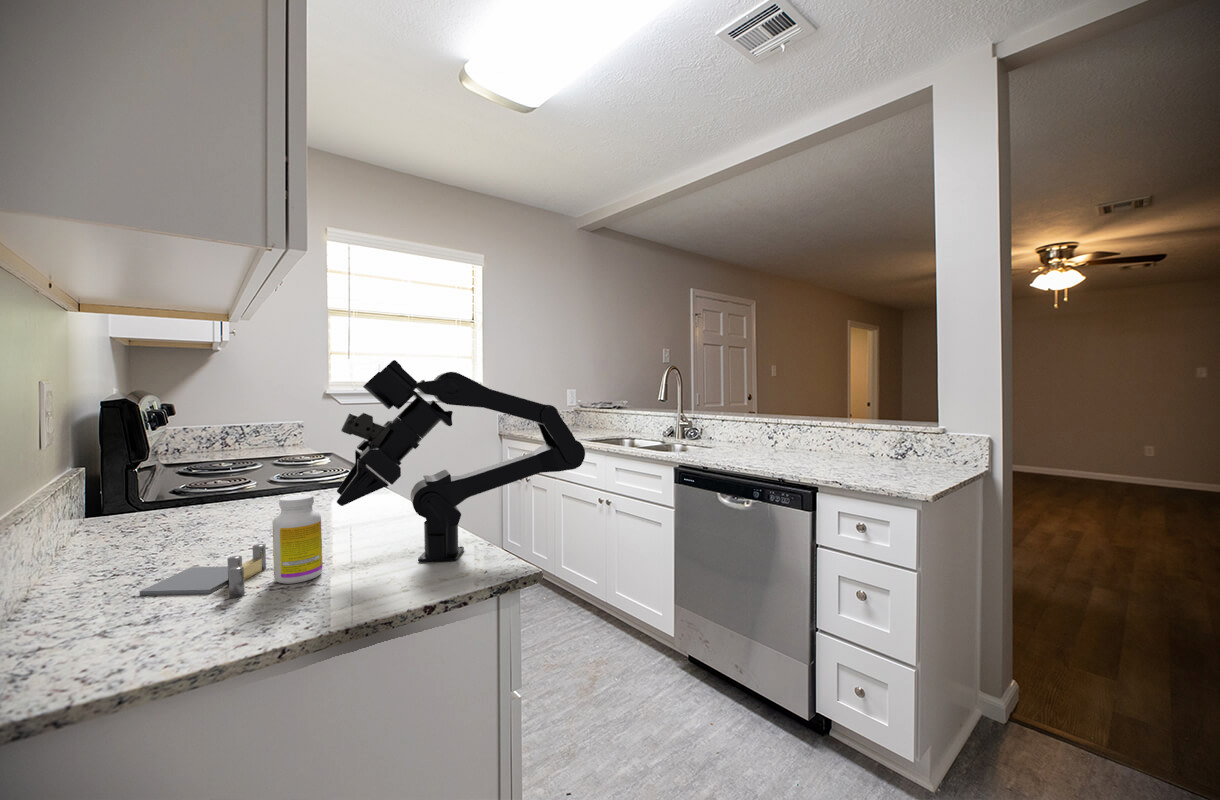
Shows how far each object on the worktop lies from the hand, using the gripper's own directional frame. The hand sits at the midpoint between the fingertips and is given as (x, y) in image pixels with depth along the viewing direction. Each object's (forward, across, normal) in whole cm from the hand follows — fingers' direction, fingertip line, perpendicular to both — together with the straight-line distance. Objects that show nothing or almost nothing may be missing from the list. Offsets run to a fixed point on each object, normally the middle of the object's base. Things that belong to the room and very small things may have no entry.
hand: (338, 498), depth 85 cm
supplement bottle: (+13, 0, +4) cm, 14 cm away
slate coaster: (+22, -5, -5) cm, 23 cm away
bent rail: (+17, -2, 0) cm, 18 cm away
